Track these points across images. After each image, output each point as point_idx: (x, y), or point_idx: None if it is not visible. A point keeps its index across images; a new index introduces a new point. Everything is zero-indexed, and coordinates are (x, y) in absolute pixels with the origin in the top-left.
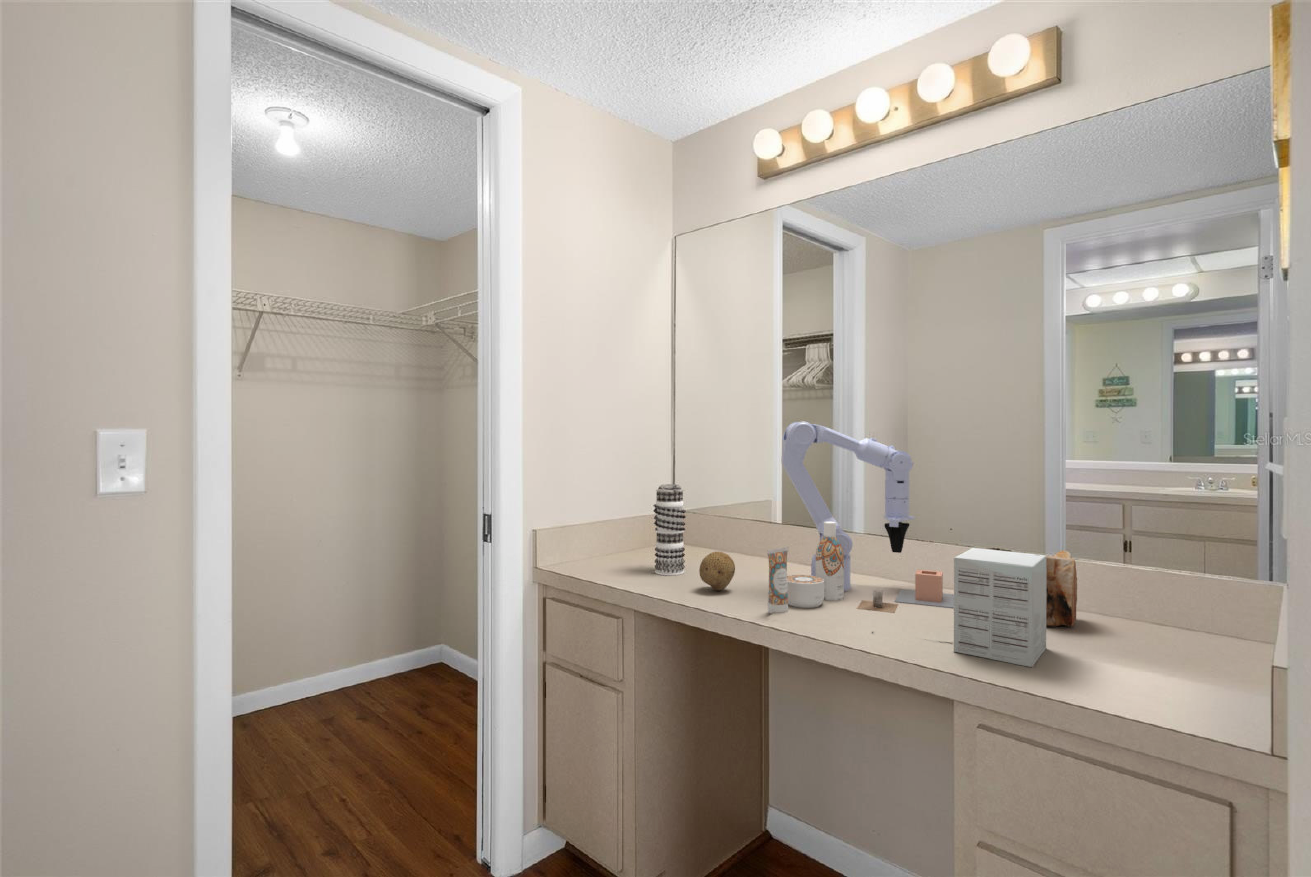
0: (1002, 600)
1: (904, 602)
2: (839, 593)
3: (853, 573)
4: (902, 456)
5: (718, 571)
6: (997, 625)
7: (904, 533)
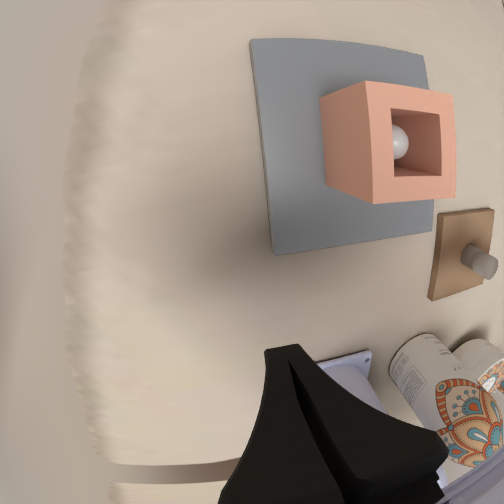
0: None
1: (433, 204)
2: (443, 345)
3: (101, 407)
4: None
5: None
6: None
7: (393, 419)
